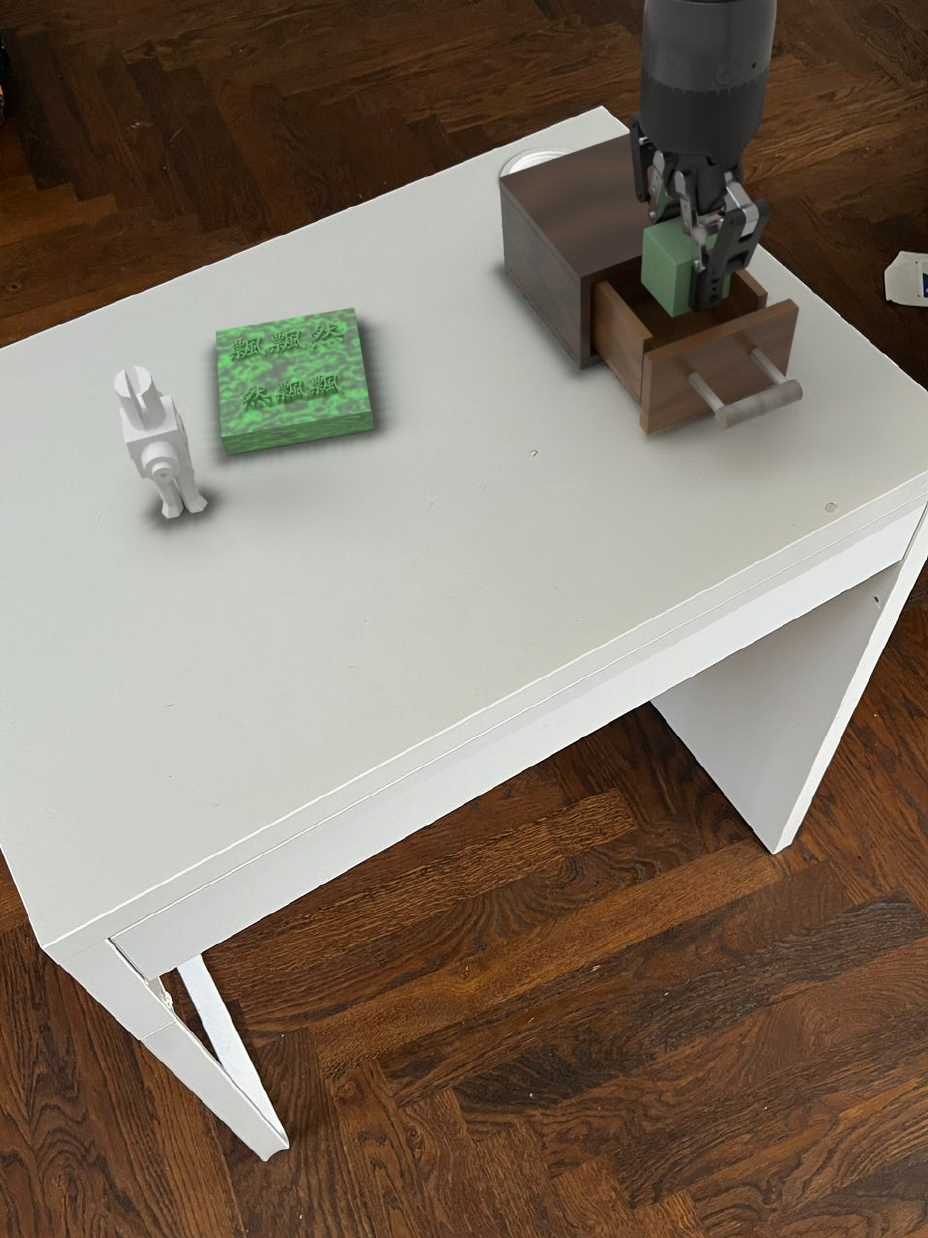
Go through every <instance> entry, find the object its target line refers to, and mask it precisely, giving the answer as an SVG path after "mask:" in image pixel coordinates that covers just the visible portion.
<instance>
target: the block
mask: <svg viewBox="0 0 928 1238" xmlns="http://www.w3.org/2000/svg"><path fill="white" fill-rule="evenodd" d="M705 218H708V216H707V215H704V216H698V221H699V220H702V219H705ZM716 239H717V235H716V234H714V235H711V236H709V237H708V238H707V239H706V250H708V249H711V248H713V247H714V244H715V241H716ZM692 265H693V264H692V254H691V242H690V238H689V237H687V236H685V235H684V234H683V229H682V218H681V216H679V217H676V218H673V219H670V220H667V221H665V222H662V223H659V224H656V225H654V226H651V227H648V228H645V229H644V233H643V252H642V272H641V282H642V284H643V285H644V286H645V287H646V288H647V289H648V290H649V292H650V293H651V294H652V295H653V296H654V297H655V298H656V300H657V301H658V302H659V303H660V304H661V305H662V307H663V308H664V309H665V310H666V311H667V312H668V313H669V315H670V316H671V317H676V316H678V315H681V314H684V313H686V312H689V311H692V310H691V309H690V307H689V306H688V299H689V288H690V278H691V267H692ZM730 277H731V274H728V275H726V276H724V284H723V292H722V299H724V298H726V297H728V292H729V284H730Z"/></svg>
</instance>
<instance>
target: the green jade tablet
mask: <svg viewBox="0 0 928 1238" xmlns="http://www.w3.org/2000/svg"><path fill="white" fill-rule="evenodd" d="M215 344H216V345H215V347H216V366H217V381H218V382H217V383H218V384H217V385H218V403H219V405H218V406H219V421H220V423H219V424H220V437H221V440H222V443H223V447H224V449H225V452H226V454H227V456H231V455H236V454H242V453H249V452H253V451H260V450H266V449H270V448H276V447H282V446H288V445H294V444H299V443H304V442H310V441H316V440H322V439H328V438H333V437H339V436H344V435H349V434H356V433H360V432H367V431H372V430H373V431H374V430H375V424H374V418H373V417H374V416H373V411H372V404H371V399H370V398H371V397H370V393H369V387H368V381H367V374H366V368H365V361H364V357H363V356H364V355H363V350H362V349H363V348H362V343H361V337H360V332H359V325H358V321H357V316H356V310H355V307H353V306H352V307H348V308H342V309H337V310H336V309H335V310H331V311H324V312H318V313H312V314H308V315H301V316H296V317H295V316H294V317H291V318H285V319H284V318H283V319H277V320H272V321H265V322H262V323H256V324H255V323H254V324H249V325H243V326H238V327H232V328H225V329H221V330H215Z"/></svg>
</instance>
